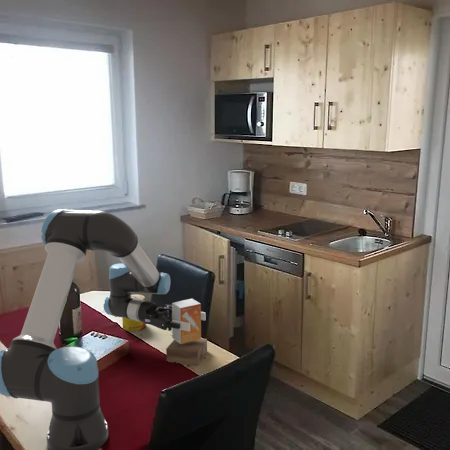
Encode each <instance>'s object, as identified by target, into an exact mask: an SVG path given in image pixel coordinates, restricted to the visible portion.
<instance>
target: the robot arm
mask: <svg viewBox="0 0 450 450" xmlns="http://www.w3.org/2000/svg"><path fill="white" fill-rule="evenodd" d="M41 233H42V234H41V240H42V244H44V251H46V253H47V256H46V258H45V262H44V264H43V268H42V270H41V273H40V276H39V279H38V283H37V285H36V287H35V288H36V289H35V291H34V294H33V297H32V300H31V304H30V306H29V308H28V312H27V315H26V317H25V320H24V324H23V327H22V329H21V332H20V334H19V335H18V336H16V337H14V338H13V339H12V340H11V343H10V345H9V347H8V348H3V349H1V351H0V395H2V396H6V397H11V398H13V399H25V400H33V401H40V402H48V403H51V412H52V415H51V419H50V423H49V427H48V430H47V433H46V445H47V448H48V450H98V449H100V448H101V447H102V446H103V445H104V444H105V443H106V442H107V440H108V439H109V426H108V422H107V421H106V418H105V416H104V414H103V411H102V409H101V404H100V401H101V400H100V383H99V373H100V371H99V368H98V361H97V358H96V356H95V354H94V353H93V352H91V350H89V349H87V348H83V347H79V346H68V347H64V346H63V347H59V348H57V346H56V345H55V344H54V341H55V339H56V334H57V332H58V328H59V325H60V322H61V319H62V316H63V312H64V309H65V306H66V302H67V299H68V296H69V293H70V289H71V285H72V282H73V280H74V276H75V273H76V269H77V268H78V263H79V262H82V261H83V260H85V258H86V255H87V252H88V251H99V252H100V251H101V252H107V253H109V254H110V255H111V256H113V257H114V258H118V260H119V261H120V262H121V263H114V264H112V265H111V266H109V272H108V273H109V274H108V276H109V277H108V280H109V295H107V296H106V297H105V299H104V303H103V310H104V312H105V313H106V314H107V315H110V316H113V317H114V318H115V317H116V318H127V319H132V320H136V321H141V322H145V324H146V325H150V326H153V327H156V328H158V329H160V330H163V331H168V332H172V328H174V329H179V330H184V331H190V323H187V322H182V321H177V320H172V319H171V318H172V304H165V305H164V307H163V306H158V305H157V304H156V302H154V301H149V300H146V299H145V300H140V299H134V298H131V294H132V293H143V294H151V295H153V294H155V295H166V294H167V293H169V291H170V290H171V289H170V287H171V276H170V274H169V273H166V272H160V271H158V269H157V268H156V267H155V265H154V263H153V262H152V261H151V259H150V258H149V257H148V255H147V254H146V253H145V251H144V250H143V248H142V246H141V245H140V243H139V237H138V235H137V234H136V232H135V231H134V229H133V228H132V227H131V226H130V225H129V224H128V223H126V222H125V221H124V220H123V219H121V218H120V217H118V216H117V215H115V214H112V213H110V212H107V211H104V210H91V209H90V210H88V209H85V210H84V209H83V210H82V209H71V208H64V209H55V210H53V211H52V212H50V213H48V215H47V216H46V217H45V219H44V221H43V224H42V226H41ZM206 317H207V315H206V312H204V311H201V321H206V320H207V319H206ZM170 319H171V320H170Z"/></svg>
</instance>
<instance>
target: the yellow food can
mask: <svg viewBox="0 0 450 450" xmlns="http://www.w3.org/2000/svg"><path fill="white" fill-rule="evenodd" d="M145 297H146V296H145V295H143V294H138V293H133V294H132V293H131V298H134V299H140V300H145V301H146V298H145ZM121 318H122V317H121ZM121 321H122V329H123V330H124V331H127V332H139V331H142V330H144V329H146V326H147V324H145V322H141V321H136V320H132V319H127V318H122V320H121Z"/></svg>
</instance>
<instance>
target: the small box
mask: <svg viewBox="0 0 450 450" xmlns="http://www.w3.org/2000/svg"><path fill="white" fill-rule="evenodd" d="M171 305H172V316H171V321H172V320H177V321H182V322H187V323H190V331H184V330H179V329H174V328H172V330H171V332H172V334H171V335H172V340H176V341H177V342H178V343H180V344H184V343H187V342H191V341H195V340H200V339H201V338H202V320H201V312H202V304H201V303H200V302H199V301H197V300H195V299H194V298H188V299H183V300H179V301H175V302H172V303H171Z"/></svg>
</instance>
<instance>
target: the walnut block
mask: <svg viewBox="0 0 450 450" xmlns="http://www.w3.org/2000/svg"><path fill="white" fill-rule="evenodd" d="M165 351H166V357H165V358H166V362H167V361H168V363H174V362H176V363H175V364H181V365H182V364H183V365H191V366H198V365H200V364H201V361H202V360H203V358H204V357H205V356H206V354H207V352H208V339H207V338H204V337H203V338H202V337H201V339H200V340H195V341H191V342H187V343H184V344H180V343H178V342H177V341H176V340H174V339H172V341H171V342H170V344H169V345H168V346H167V347H166V349H165Z"/></svg>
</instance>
